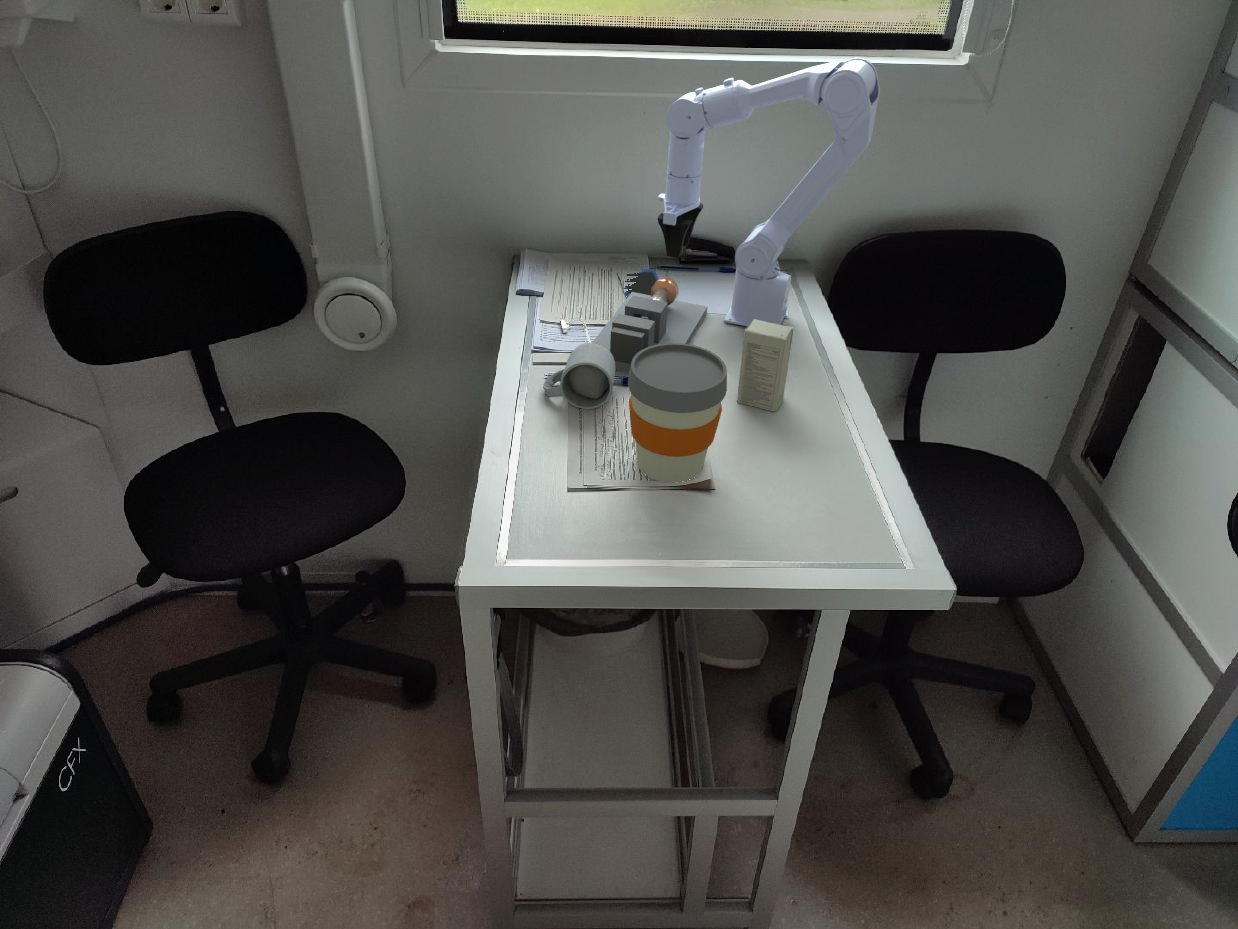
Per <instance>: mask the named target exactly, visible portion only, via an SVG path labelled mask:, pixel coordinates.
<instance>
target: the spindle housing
mask: <svg viewBox="0 0 1238 929" xmlns="http://www.w3.org/2000/svg"><path fill="white" fill-rule="evenodd" d="M651 298H652V297H651V296H650V295H645V294H640V293H635V292H631V294H630V295H629V296H628V298H627V299H626V298H625V300H624V301H623V303H622V304H620V307H618V309H617V310H616V312H615V313H614V314H613V316H611V318H610V319H609V321H607V323H606V324H605V326H603V328H602V329H601V330H600V332H599V333H598V335H597V336H596V337H595V338H594V339H593V340H592V341H591V342H592V343H597V344H600V345H602V346H604V347H606V348H607V349H608V350H609V351H610V352H611V354H612V356H613V358H614V361H615V371H616V370H617V371H622V372H626V373H630V367H631V362H632V359H633V357H634V356H635V355H636V354H637V353H638V352H640V351H641V350H643V349H645V348H647V347H650V346H653V345H658V344H664V343H683V344H690V343H691V341H692V340H693V338H694V336H695V335H696V333H697V332H698V330H699V328H700V326H701V325H702V323H703V321H704V320H705V318H706V316H707V314H708V306H707V305H701V304H697V303H691V302H686V301H681V300H677V299H675V300H674V302H673V303H672V304H670V305H668V302H664V301H659V300H654V299H651ZM639 314H640V315H645V316H650V317H651V320H647V319H642V318H637V317H638V315H639Z"/></svg>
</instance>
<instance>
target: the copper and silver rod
mask: <svg viewBox="0 0 1238 929" xmlns="http://www.w3.org/2000/svg"><path fill="white" fill-rule="evenodd" d="M679 292H680V291H679V285H678V284H677V282H676V281H675V280H674V279H672V278H670V277H667V276H664V277H660V278H658V280H657V281H656V283H655V284H654V285H653V287H652V288H651V297H652V298H651V299H654V300H659V301H664V302H668V305H670V304H672V303H673V302H674V300H677V297H678V295H679ZM637 318H642V319H647V320H651V317H650V316H645V315H640V314H639V315H638V317H637Z"/></svg>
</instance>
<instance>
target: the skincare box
mask: <svg viewBox="0 0 1238 929" xmlns="http://www.w3.org/2000/svg"><path fill="white" fill-rule="evenodd" d="M794 329H795V328H794V327H793V326H789V325H785V324H782V323H781V324H776V323H772V322H767V321H762V320H757V319H754V320H753V321H752V322H751V323H750V324H749V326H746V327H745V329H744V334H743V336H744V337H743V344H742V352H741V361H740V362H741V363H740V371H739V378H738V389H737V397H736V398H737V399H736V402H737V403H740V404H743V405H747V406H750V407H754V408H759V409H763V410H767V411H771V412H776V411H777V410H778V409H779V407H780V405H781V404H782V401H783V399H784V396H785V388H786V382H787V375H788V369H789V362H790V357H791V350H792V343H793V337H794V336H793V335H794Z"/></svg>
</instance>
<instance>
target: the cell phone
mask: <svg viewBox="0 0 1238 929" xmlns="http://www.w3.org/2000/svg"><path fill="white" fill-rule="evenodd" d="M637 269H638V268H637ZM638 270H642V272H638V273H637V274H636V273H634V274H627V276H638V277H636V278H633V279H630V281H628V280H629V279H627V281H625V282H636V283H634V284H632V285H631V286H629V285H630V284H628V286H625V288H624V289H628V291H626V292H625V293H624V296H625V295H626V296H627V298H628V296H629V295H630V294H631V292H635V293H640V294H645V295H650V296H651V288H652V287H653V285H654V284H655V283H656V281H657V280H658V279H659V277H658V274H657V272H656V270H655V269H654V268H653V269H652V268H645V269H644V268H642V269H638ZM643 270H644V271H643ZM629 289H632V290H629ZM626 296H625V297H626Z"/></svg>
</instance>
